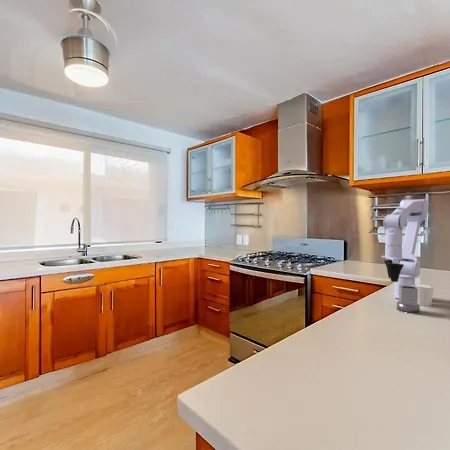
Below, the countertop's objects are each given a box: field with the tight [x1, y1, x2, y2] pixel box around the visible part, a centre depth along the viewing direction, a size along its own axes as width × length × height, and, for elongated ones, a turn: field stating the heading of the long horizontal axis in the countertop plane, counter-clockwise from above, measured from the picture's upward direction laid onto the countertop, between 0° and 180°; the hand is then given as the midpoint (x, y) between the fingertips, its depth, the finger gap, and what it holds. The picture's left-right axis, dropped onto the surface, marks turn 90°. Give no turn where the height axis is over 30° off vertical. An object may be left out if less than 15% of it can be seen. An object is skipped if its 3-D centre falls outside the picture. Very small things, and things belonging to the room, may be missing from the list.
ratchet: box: [396, 300, 421, 314], centre depth 110 cm, size 14×7×5 cm, turn 157°
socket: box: [398, 285, 418, 306], centre depth 107 cm, size 5×5×6 cm
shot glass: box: [413, 284, 434, 307], centre depth 116 cm, size 7×7×7 cm
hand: (392, 279), depth 115 cm, fingers open, 7 cm apart
